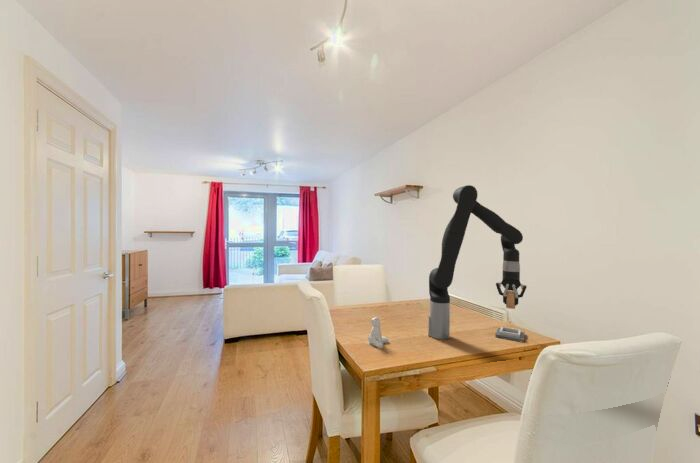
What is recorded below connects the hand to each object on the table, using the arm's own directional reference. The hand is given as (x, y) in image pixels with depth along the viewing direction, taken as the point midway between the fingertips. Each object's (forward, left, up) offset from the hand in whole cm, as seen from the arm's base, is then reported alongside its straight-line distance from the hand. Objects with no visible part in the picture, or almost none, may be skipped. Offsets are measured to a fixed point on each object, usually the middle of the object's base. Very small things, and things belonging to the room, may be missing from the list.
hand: (510, 304), depth 146 cm
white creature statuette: (-50, -47, -16) cm, 70 cm away
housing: (0, 0, -16) cm, 16 cm away
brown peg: (0, 0, -2) cm, 2 cm away
